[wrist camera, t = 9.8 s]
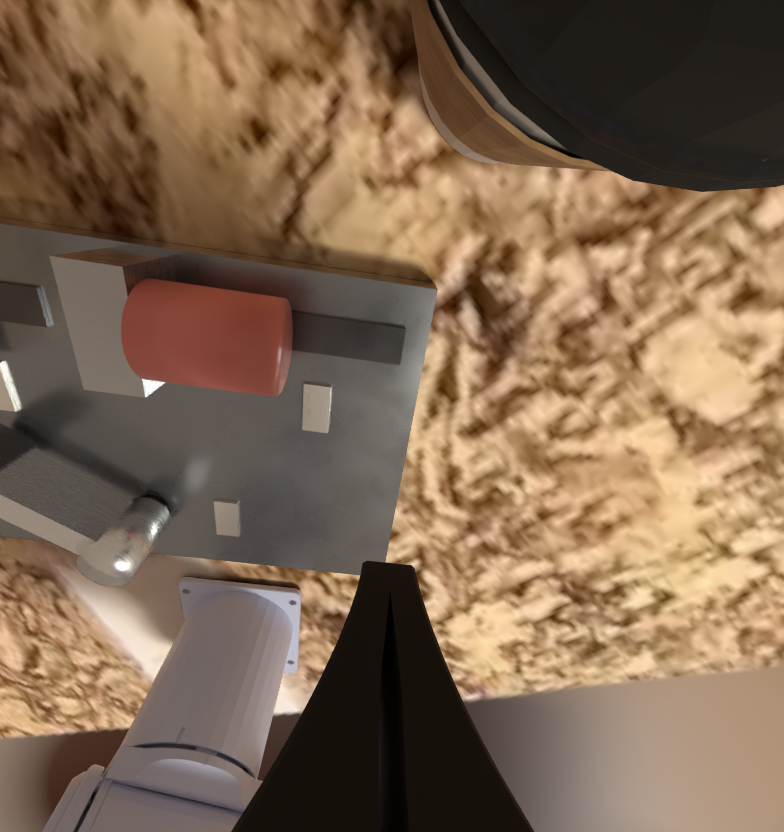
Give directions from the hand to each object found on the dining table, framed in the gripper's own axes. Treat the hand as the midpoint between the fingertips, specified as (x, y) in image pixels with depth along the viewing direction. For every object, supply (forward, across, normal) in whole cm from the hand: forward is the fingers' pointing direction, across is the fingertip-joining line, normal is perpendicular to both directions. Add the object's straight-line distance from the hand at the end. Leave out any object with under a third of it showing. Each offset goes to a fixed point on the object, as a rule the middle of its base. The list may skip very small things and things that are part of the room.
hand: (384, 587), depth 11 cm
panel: (+10, +10, +2) cm, 15 cm away
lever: (+8, +15, +5) cm, 18 cm away
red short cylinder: (+8, +7, -4) cm, 12 cm away
